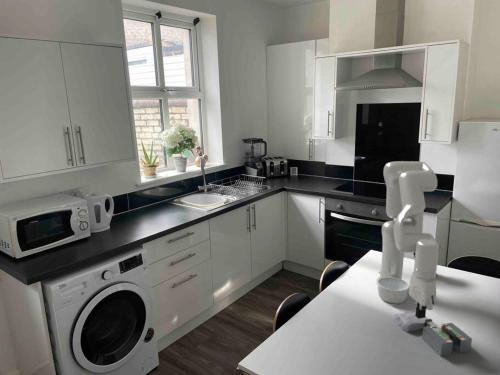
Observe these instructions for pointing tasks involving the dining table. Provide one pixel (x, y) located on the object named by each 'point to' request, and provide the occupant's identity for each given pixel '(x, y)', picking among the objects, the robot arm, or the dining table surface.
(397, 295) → the ramekin
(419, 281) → the robot arm
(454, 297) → the dining table surface
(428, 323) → the bar with dark endcap
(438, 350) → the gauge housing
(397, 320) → the stone block
